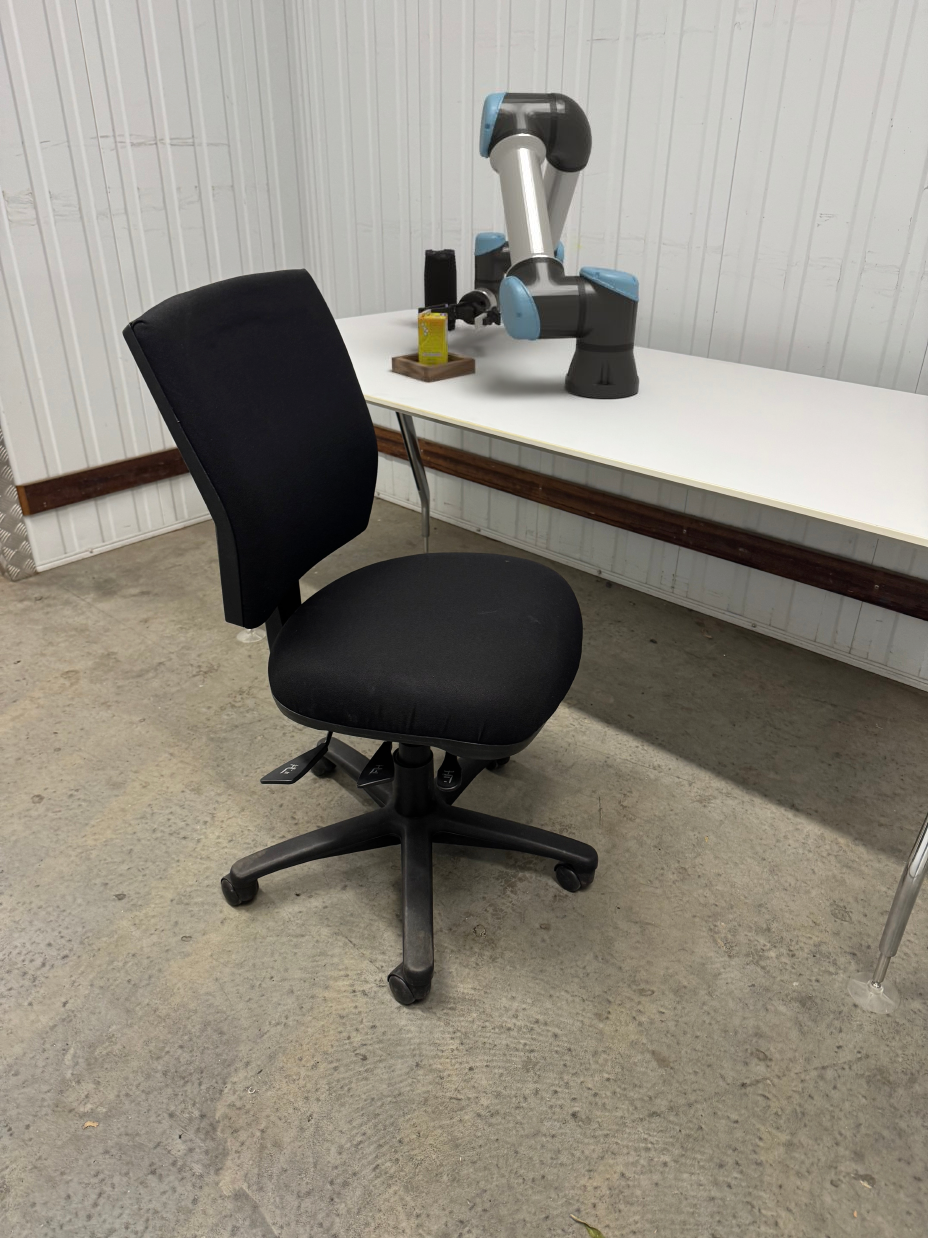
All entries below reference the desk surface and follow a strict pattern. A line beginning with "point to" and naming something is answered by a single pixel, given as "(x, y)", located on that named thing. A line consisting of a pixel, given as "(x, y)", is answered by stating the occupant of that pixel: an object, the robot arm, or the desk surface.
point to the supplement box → (433, 338)
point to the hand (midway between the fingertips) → (447, 322)
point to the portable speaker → (440, 279)
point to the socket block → (433, 367)
